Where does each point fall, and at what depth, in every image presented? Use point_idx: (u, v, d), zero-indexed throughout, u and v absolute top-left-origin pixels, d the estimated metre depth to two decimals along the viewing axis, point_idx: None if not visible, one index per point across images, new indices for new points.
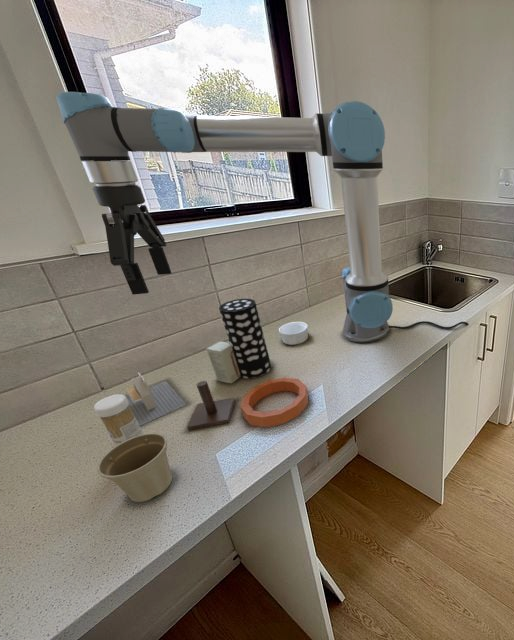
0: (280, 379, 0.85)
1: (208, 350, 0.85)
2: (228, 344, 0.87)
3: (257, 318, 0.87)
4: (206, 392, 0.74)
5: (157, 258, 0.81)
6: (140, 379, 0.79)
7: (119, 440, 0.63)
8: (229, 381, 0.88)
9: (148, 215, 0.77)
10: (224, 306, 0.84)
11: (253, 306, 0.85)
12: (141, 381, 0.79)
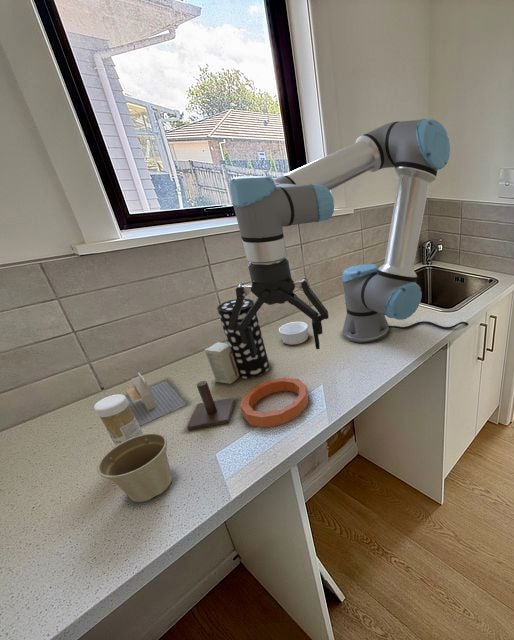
0: (280, 379, 0.85)
1: (206, 351, 0.85)
2: (226, 344, 0.87)
3: (256, 318, 0.87)
4: (206, 392, 0.74)
5: None
6: (140, 379, 0.79)
7: (119, 440, 0.63)
8: (228, 382, 0.88)
9: (306, 291, 0.71)
10: (222, 306, 0.84)
11: None
12: (141, 381, 0.79)
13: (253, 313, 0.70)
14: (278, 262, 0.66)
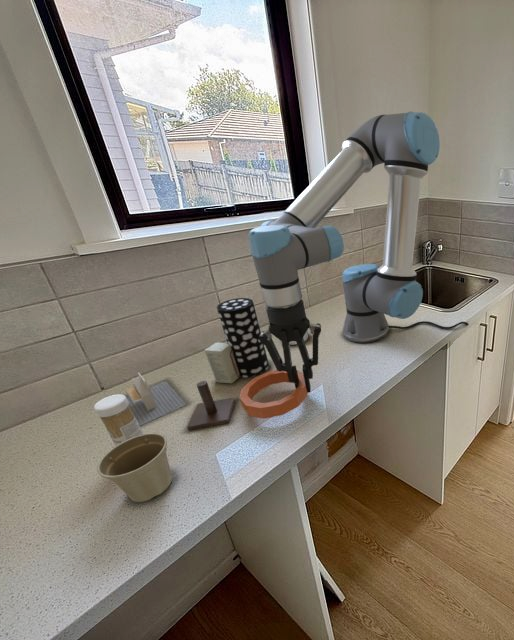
0: None
1: (207, 351, 0.85)
2: (226, 344, 0.87)
3: (255, 316, 0.88)
4: (206, 392, 0.74)
5: None
6: (140, 379, 0.79)
7: (119, 440, 0.63)
8: (229, 381, 0.88)
9: (315, 336, 0.75)
10: (222, 306, 0.84)
11: (252, 304, 0.86)
12: (141, 381, 0.79)
13: (287, 353, 0.75)
14: (294, 305, 0.69)
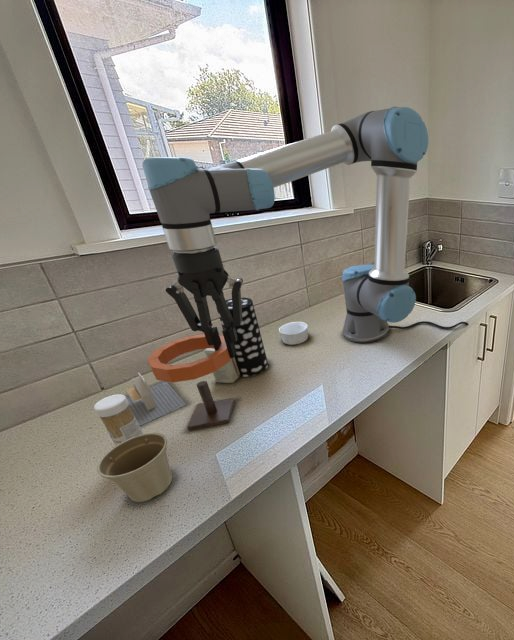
0: (203, 335, 0.76)
1: (207, 351, 0.85)
2: None
3: (255, 315, 0.89)
4: (206, 392, 0.74)
5: None
6: (140, 379, 0.79)
7: (119, 440, 0.63)
8: (230, 381, 0.88)
9: (234, 291, 0.67)
10: None
11: (251, 303, 0.87)
12: (141, 381, 0.79)
13: (202, 310, 0.66)
14: (204, 251, 0.61)
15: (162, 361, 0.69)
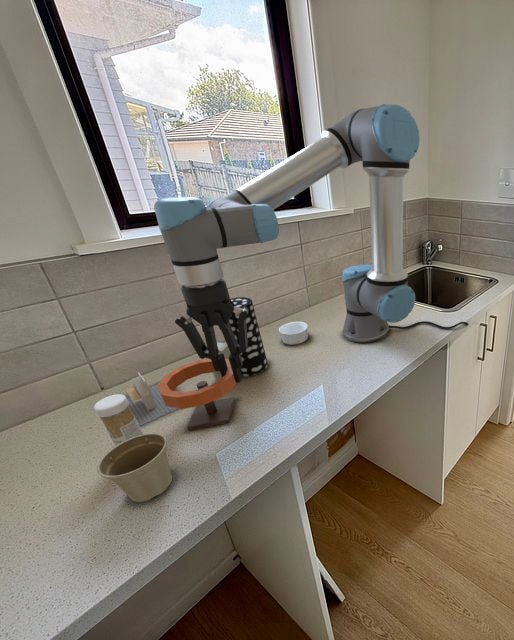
0: (210, 359, 0.79)
1: None
2: (226, 344, 0.87)
3: (255, 315, 0.89)
4: None
5: None
6: (140, 379, 0.79)
7: (119, 440, 0.63)
8: None
9: (240, 321, 0.69)
10: None
11: (251, 303, 0.87)
12: (141, 381, 0.79)
13: (209, 338, 0.69)
14: (212, 285, 0.64)
15: (171, 387, 0.72)
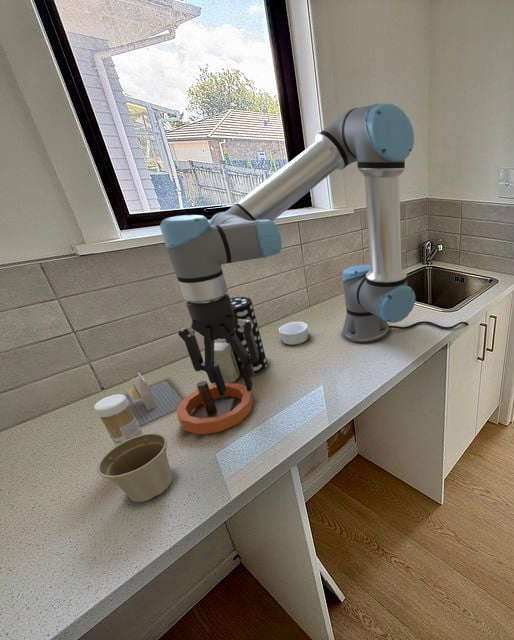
0: (225, 384, 0.82)
1: None
2: (226, 343, 0.87)
3: (254, 314, 0.89)
4: (206, 392, 0.74)
5: None
6: (140, 379, 0.79)
7: (119, 440, 0.63)
8: (231, 380, 0.88)
9: (246, 332, 0.71)
10: None
11: (251, 302, 0.87)
12: (141, 381, 0.79)
13: (209, 352, 0.70)
14: (217, 300, 0.65)
15: (188, 411, 0.75)
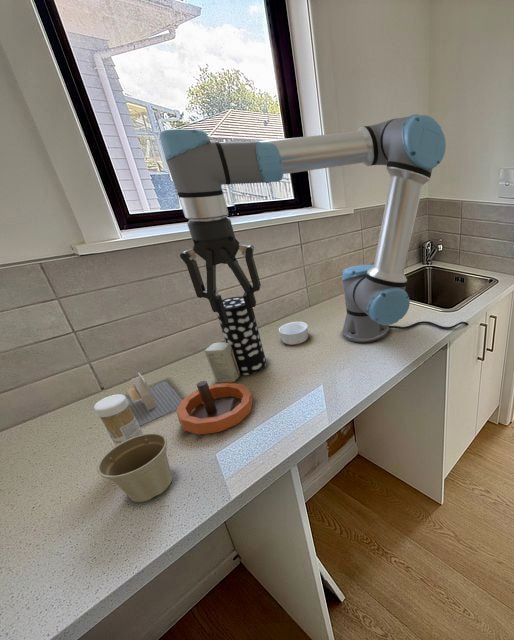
0: (225, 384, 0.82)
1: (207, 352, 0.85)
2: (226, 343, 0.88)
3: None
4: (206, 392, 0.74)
5: None
6: (140, 379, 0.79)
7: (119, 440, 0.63)
8: (232, 380, 0.89)
9: (247, 257, 0.71)
10: None
11: None
12: (141, 381, 0.79)
13: (211, 277, 0.70)
14: (218, 219, 0.65)
15: (188, 411, 0.75)
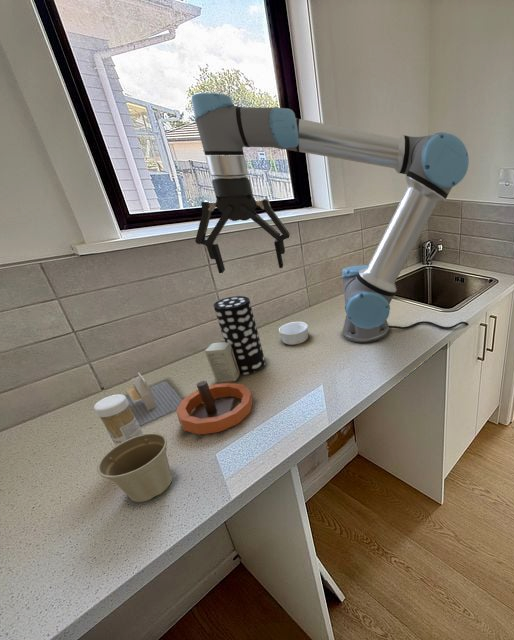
0: (225, 384, 0.82)
1: (207, 352, 0.85)
2: (226, 343, 0.88)
3: (252, 312, 0.90)
4: (206, 392, 0.74)
5: None
6: (140, 379, 0.79)
7: (119, 440, 0.63)
8: (233, 379, 0.89)
9: (267, 209, 0.78)
10: (219, 305, 0.85)
11: (249, 301, 0.88)
12: (141, 381, 0.79)
13: (218, 228, 0.77)
14: (239, 177, 0.73)
15: (188, 411, 0.75)
